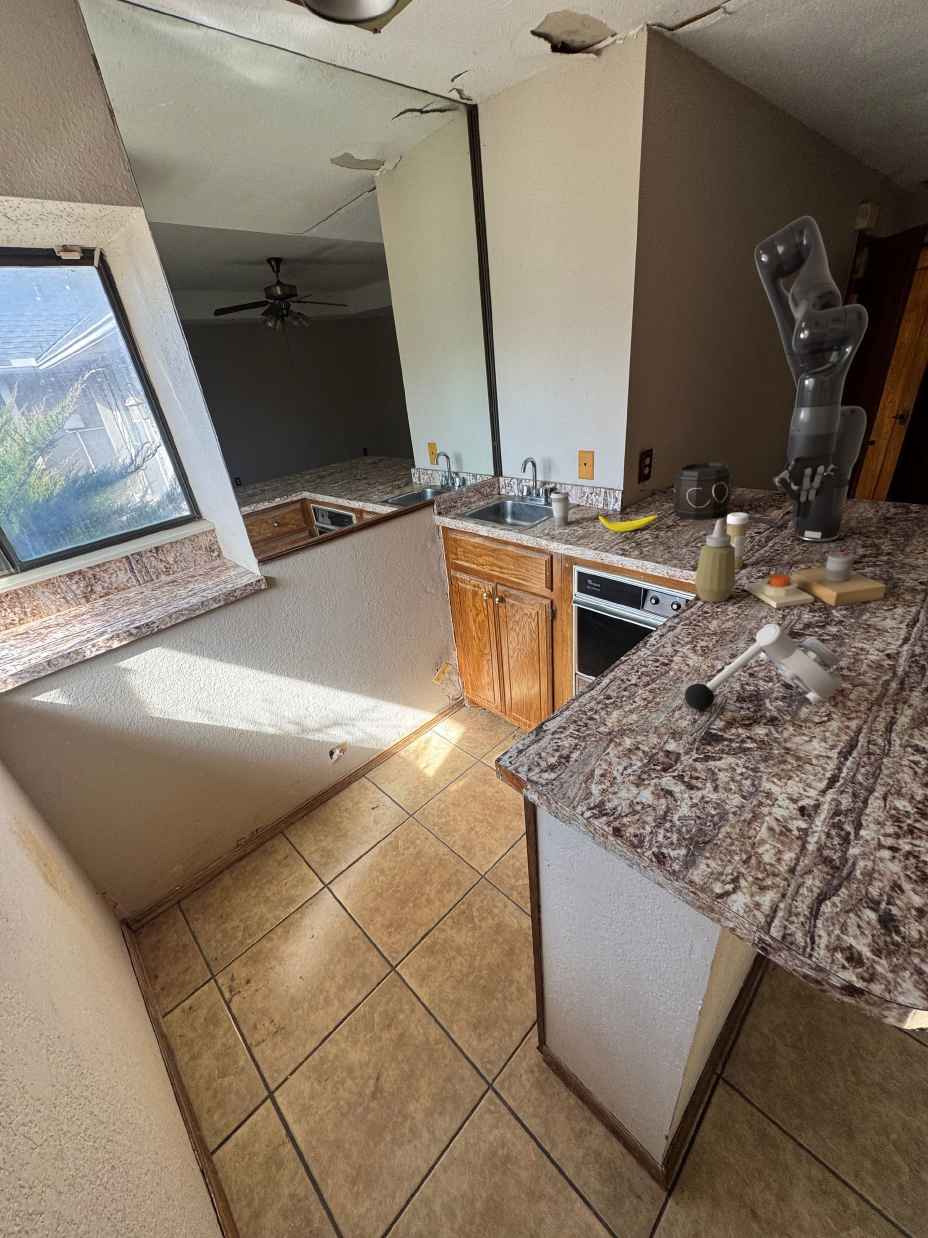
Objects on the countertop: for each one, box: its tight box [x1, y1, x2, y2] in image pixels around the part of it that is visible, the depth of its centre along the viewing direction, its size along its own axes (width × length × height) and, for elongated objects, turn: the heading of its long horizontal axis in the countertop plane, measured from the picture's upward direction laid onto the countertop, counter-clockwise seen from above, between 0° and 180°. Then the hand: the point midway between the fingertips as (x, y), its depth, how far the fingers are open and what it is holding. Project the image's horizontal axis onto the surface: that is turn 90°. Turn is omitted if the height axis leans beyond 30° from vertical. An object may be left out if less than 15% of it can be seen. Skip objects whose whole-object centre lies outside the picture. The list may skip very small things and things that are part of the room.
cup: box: [549, 489, 571, 527], centre depth 174 cm, size 7×7×12 cm
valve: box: [684, 623, 844, 711], centre depth 74 cm, size 10×20×15 cm
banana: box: [596, 513, 658, 533], centre depth 157 cm, size 3×19×6 cm, turn 71°
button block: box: [744, 577, 815, 609], centre depth 104 cm, size 11×8×3 cm
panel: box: [790, 565, 887, 607], centre depth 102 cm, size 13×10×3 cm
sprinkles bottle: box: [726, 511, 750, 569], centre depth 119 cm, size 5×5×13 cm
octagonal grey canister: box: [672, 461, 735, 521], centre depth 161 cm, size 18×18×16 cm
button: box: [769, 573, 791, 587], centre depth 103 cm, size 4×4×2 cm
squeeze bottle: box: [694, 518, 736, 603], centre depth 104 cm, size 8×8×18 cm
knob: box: [824, 550, 856, 582], centre depth 100 cm, size 4×4×5 cm
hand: (799, 518), depth 99 cm, fingers closed
